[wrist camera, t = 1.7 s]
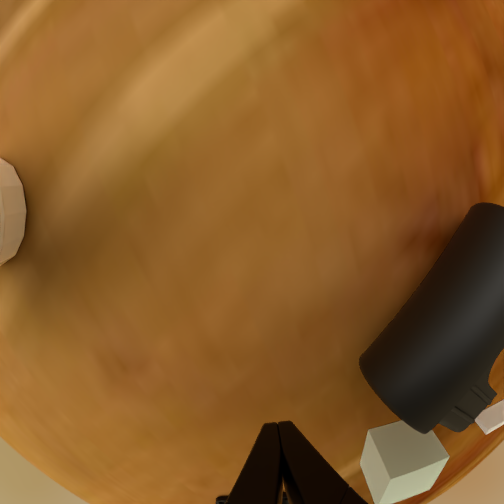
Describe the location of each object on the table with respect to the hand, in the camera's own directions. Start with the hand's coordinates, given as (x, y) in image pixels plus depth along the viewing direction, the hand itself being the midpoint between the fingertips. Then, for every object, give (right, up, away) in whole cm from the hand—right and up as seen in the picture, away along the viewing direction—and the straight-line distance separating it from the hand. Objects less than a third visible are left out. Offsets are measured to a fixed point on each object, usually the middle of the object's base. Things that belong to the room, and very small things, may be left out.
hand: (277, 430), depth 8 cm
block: (+10, -9, +10) cm, 17 cm away
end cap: (+10, +3, +7) cm, 13 cm away
